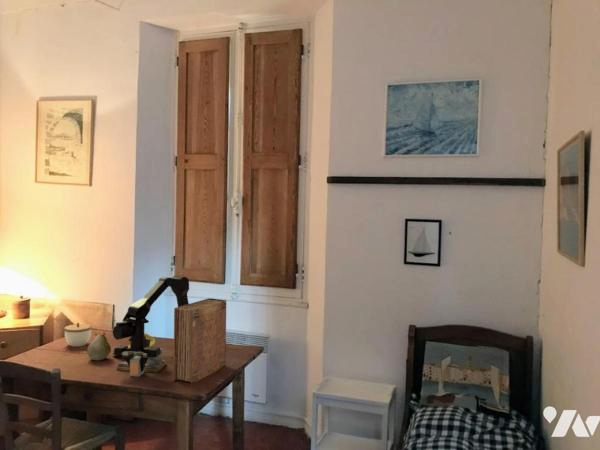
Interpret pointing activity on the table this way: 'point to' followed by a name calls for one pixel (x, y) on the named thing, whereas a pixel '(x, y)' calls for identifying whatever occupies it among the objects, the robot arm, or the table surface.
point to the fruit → (99, 348)
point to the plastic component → (144, 348)
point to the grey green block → (135, 366)
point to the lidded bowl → (77, 334)
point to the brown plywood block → (199, 339)
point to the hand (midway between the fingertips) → (137, 371)
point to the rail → (147, 364)
